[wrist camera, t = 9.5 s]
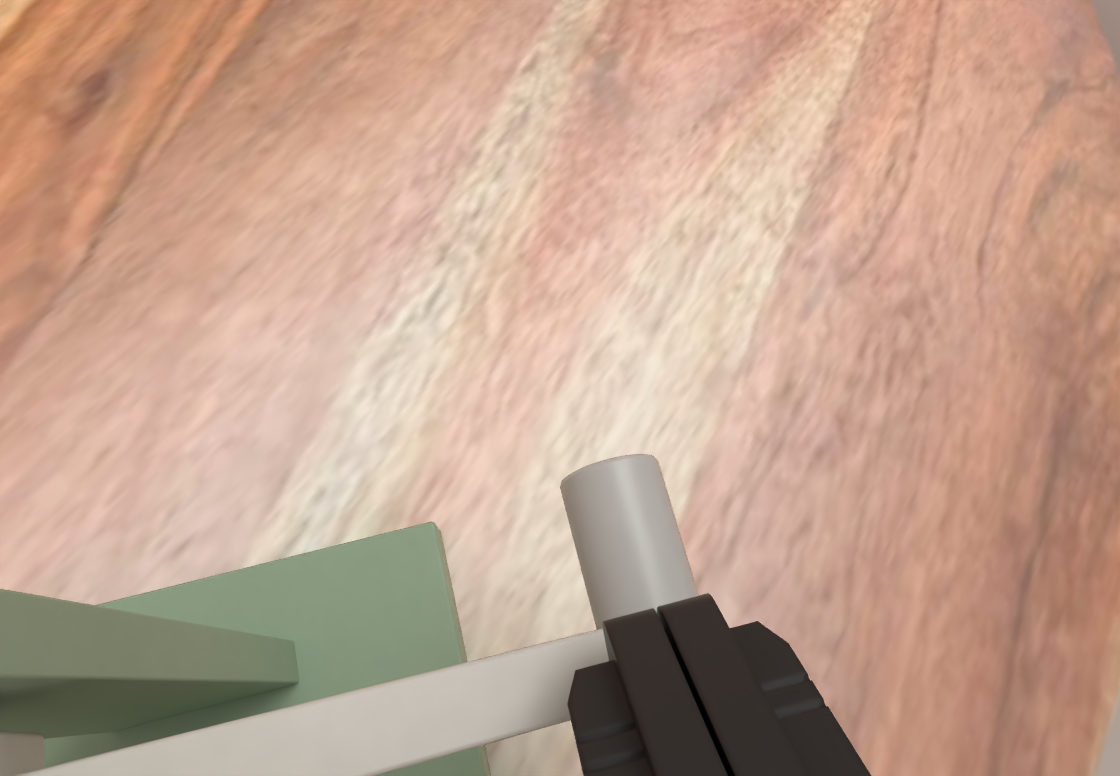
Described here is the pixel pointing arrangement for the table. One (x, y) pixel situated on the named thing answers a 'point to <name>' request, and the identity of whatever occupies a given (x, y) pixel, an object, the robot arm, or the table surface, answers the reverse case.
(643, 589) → the hinged lever
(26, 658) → the green stand
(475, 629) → the table surface
